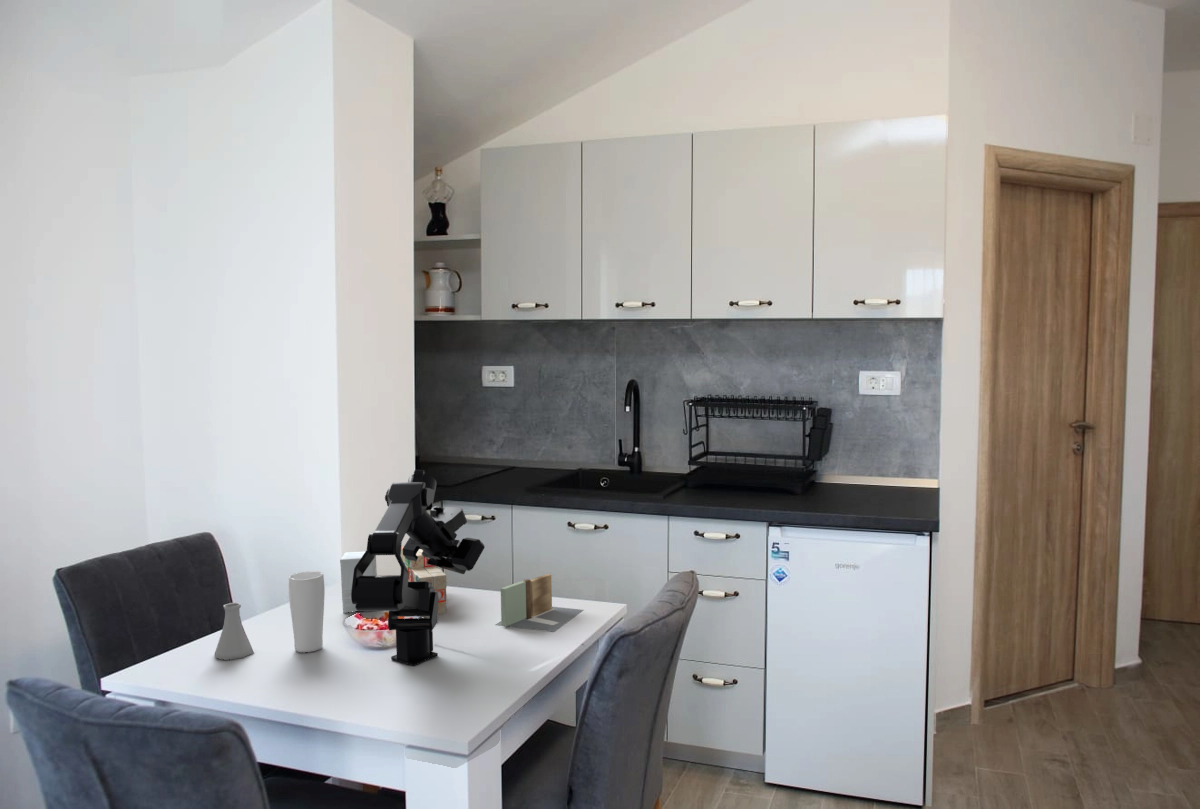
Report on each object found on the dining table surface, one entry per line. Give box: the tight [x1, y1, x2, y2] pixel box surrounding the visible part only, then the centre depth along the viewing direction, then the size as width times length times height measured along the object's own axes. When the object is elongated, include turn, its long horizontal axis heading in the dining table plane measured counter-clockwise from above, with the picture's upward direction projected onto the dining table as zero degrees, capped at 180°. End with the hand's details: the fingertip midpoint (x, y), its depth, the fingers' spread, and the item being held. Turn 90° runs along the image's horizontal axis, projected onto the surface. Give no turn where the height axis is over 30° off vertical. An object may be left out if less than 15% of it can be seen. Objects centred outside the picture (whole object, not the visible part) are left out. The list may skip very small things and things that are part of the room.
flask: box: [214, 602, 255, 661], centre depth 167 cm, size 7×7×10 cm
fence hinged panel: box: [500, 580, 526, 627], centre depth 182 cm, size 7×1×8 cm, turn 144°
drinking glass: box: [287, 570, 326, 654], centre depth 169 cm, size 7×7×15 cm
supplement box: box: [339, 550, 378, 614], centre depth 197 cm, size 7×7×13 cm
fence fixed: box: [523, 573, 553, 619], centre depth 188 cm, size 9×2×8 cm, turn 144°
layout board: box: [495, 606, 584, 633], centre depth 186 cm, size 16×14×1 cm
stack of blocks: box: [401, 545, 447, 618], centre depth 199 cm, size 21×6×12 cm, turn 24°
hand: (463, 572), depth 177 cm, fingers closed
